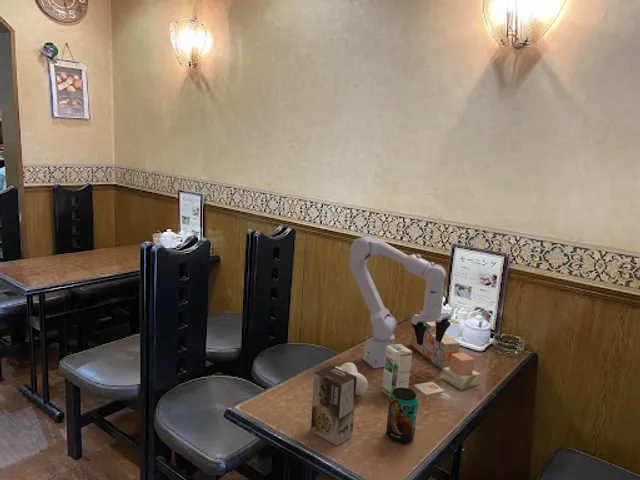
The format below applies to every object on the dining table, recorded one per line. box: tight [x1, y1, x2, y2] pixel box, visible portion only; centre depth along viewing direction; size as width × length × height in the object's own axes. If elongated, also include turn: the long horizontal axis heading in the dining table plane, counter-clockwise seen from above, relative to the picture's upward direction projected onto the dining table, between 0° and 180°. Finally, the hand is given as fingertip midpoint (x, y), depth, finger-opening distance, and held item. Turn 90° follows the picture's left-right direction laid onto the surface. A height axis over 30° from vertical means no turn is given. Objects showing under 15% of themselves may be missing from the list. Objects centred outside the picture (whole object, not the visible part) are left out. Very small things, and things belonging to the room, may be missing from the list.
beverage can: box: [385, 387, 419, 444], centre depth 119 cm, size 7×7×12 cm
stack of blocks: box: [410, 313, 461, 370], centre depth 169 cm, size 21×6×12 cm, turn 18°
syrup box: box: [381, 343, 413, 398], centre depth 140 cm, size 6×6×14 cm
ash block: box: [441, 366, 481, 390], centre depth 152 cm, size 8×8×4 cm
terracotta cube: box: [450, 352, 475, 376], centre depth 151 cm, size 5×5×5 cm
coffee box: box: [310, 364, 357, 447], centre depth 118 cm, size 9×6×16 cm
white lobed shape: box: [334, 362, 369, 396], centre depth 138 cm, size 11×12×9 cm
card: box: [413, 381, 445, 396], centre depth 146 cm, size 7×6×1 cm
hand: (428, 342), depth 155 cm, fingers open, 7 cm apart
